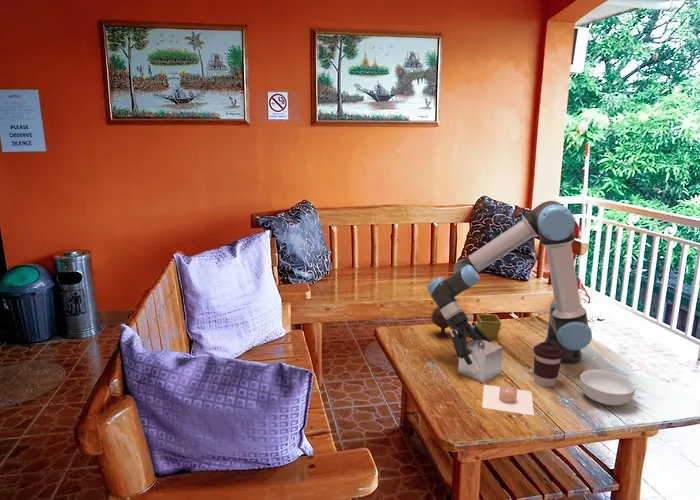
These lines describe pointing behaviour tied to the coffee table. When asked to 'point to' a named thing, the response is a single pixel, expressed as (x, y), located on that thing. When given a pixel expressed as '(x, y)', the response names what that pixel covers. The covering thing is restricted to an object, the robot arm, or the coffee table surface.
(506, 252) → the robot arm
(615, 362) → the coffee table surface
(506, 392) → the pink domed cylinder
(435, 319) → the ice cream bowl
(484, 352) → the metal cover
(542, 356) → the coffee cup
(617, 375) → the cereal bowl
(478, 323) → the flower pot
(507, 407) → the serving board
